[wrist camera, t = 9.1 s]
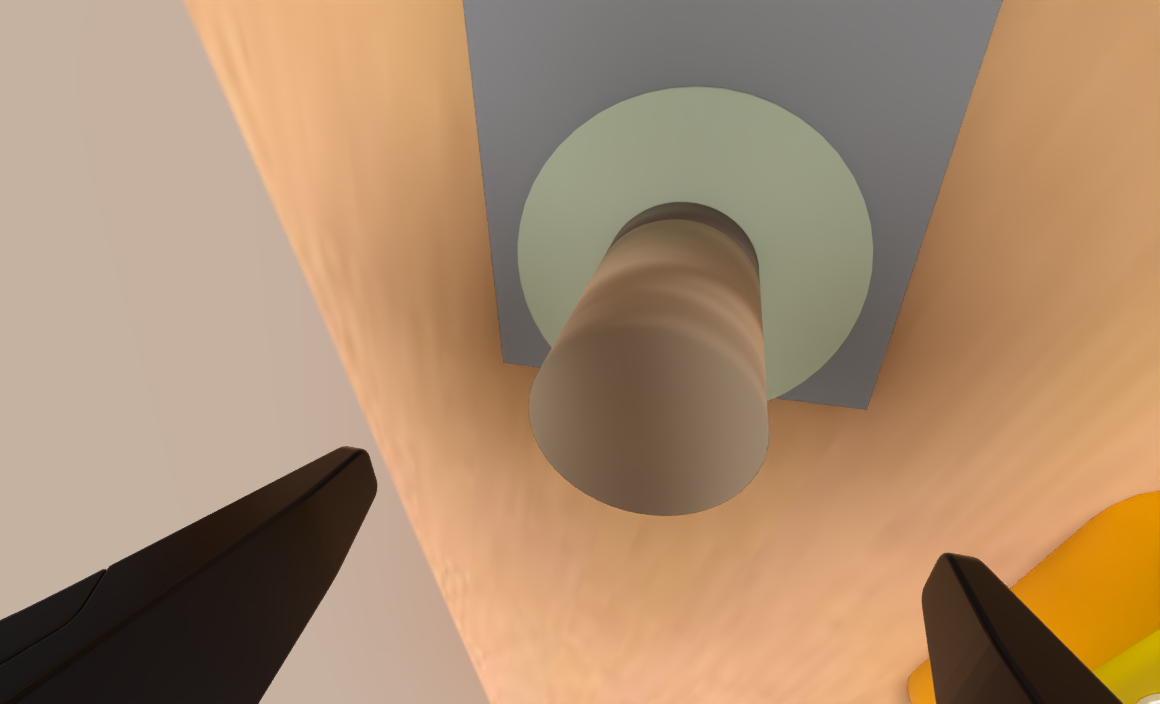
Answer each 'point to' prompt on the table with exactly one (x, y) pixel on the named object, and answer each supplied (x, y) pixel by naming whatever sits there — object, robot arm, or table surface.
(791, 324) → the board
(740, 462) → the sleeve
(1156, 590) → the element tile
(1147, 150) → the table surface
